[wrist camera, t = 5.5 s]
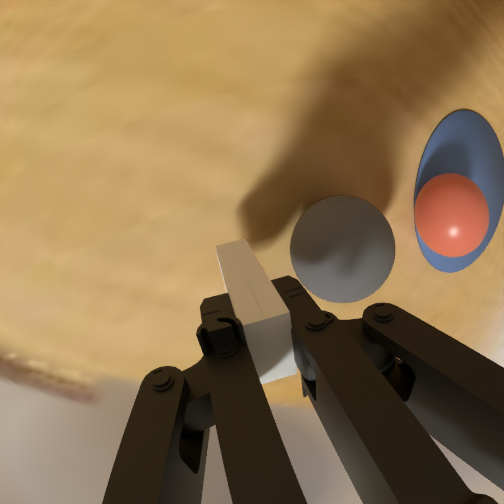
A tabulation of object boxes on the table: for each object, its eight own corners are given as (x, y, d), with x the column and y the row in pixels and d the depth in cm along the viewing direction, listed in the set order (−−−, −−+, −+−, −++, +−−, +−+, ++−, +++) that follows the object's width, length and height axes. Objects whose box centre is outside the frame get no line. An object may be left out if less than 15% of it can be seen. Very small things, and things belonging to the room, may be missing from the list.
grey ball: (269, 215, 12) (299, 185, 17) (281, 319, 15) (306, 267, 19) (402, 218, 10) (393, 184, 15) (390, 329, 13) (389, 271, 17)
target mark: (502, 115, 17) (504, 115, 17) (497, 250, 23) (498, 250, 23) (407, 106, 15) (409, 106, 15) (408, 292, 21) (410, 293, 21)
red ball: (402, 167, 18) (466, 166, 17) (403, 240, 20) (463, 234, 19) (433, 185, 13) (507, 183, 12) (427, 277, 15) (496, 267, 14)
